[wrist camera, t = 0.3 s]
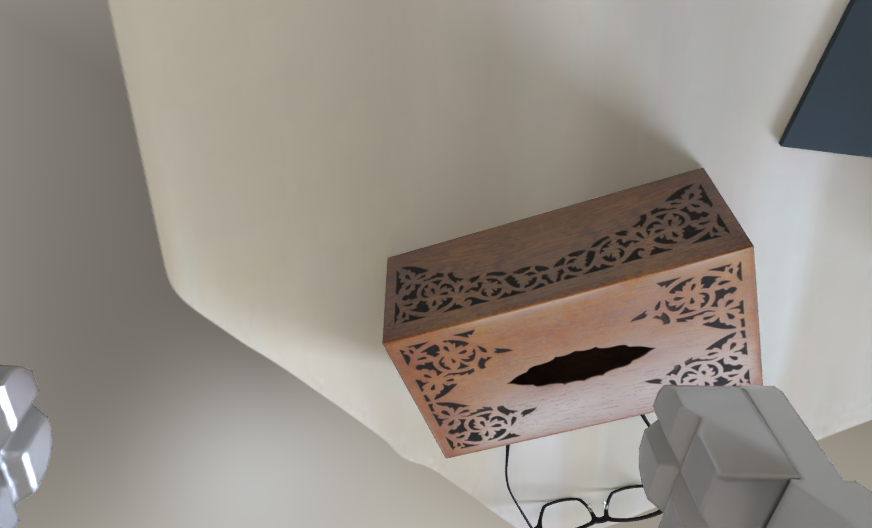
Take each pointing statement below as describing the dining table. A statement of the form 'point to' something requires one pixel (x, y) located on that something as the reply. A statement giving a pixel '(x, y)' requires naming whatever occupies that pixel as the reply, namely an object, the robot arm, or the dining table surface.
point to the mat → (839, 92)
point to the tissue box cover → (575, 315)
